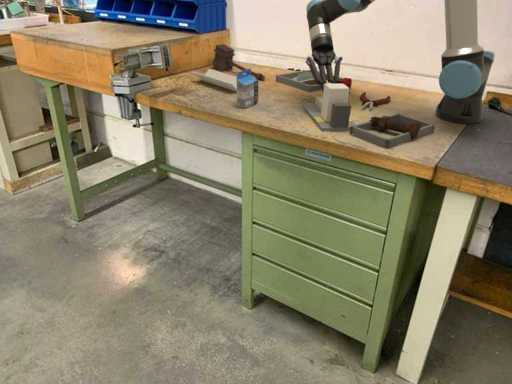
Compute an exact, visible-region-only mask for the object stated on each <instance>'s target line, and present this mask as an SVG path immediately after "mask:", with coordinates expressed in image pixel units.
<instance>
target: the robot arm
mask: <svg viewBox="0 0 512 384" xmlns="http://www.w3.org/2000/svg"><path fill="white" fill-rule="evenodd" d="M374 2H376V0H310V1H309V2H308V4H307V5H306V8H305V9H306V20H307V25H308V32H309V34H308V35H309V40H310V48H311V56H307V57H306V60H305V64H306V65H307V66H308V67H309V70H311V73H312V75H313V78H314V82H315V85H316V84H317V85H321V87H322V90H321V91H322V92H323V91H324V84H337V82H338V80H339V77H340V70H341V62H342V61H343V57H342V56H338V55H337V54H336V52H335V50H334V42H333V35H332V29H331V23H332V22H334V21H336V20H337V19H339V18H340V17H343V16H344V15H348V14H353V13H360V12H362V11H365V10H366V9H367V8H368V7H369V6H370V5H371V4H372V3H374ZM444 17H445V18H444V22H445V23H444V24H445V43H446V44H445V45H446V46H445V50H444V51H443V52H442V54H440V56H441V60H440V61H441V71H440V73H439V77H438V84H439V88H440V90H441V91H442V92H443V94H444V95H443V96H442V98H441V99H440V102H439V103H438V104H437V106H436V108H435V113H434V114H435V116H437V117H438V118H439V119H442V120H445V121H449V122H452V123H458V124H466V125H468V124H470V125H471V124H473V125H474V124H477V123H480V122H481V121H482V120H483V116H484V113H483V112H484V110H483V108H484V107H483V96H484V93H485V90H486V86H487V82H488V80H489V77H490V72H491V69H492V66H493V63H494V62H495V60H494V59H495V52H493V51H490V50H485V49H484V47H482V46H481V45H480V44H479V43H478V42H479V38H478V33H479V31H478V0H444ZM333 61H334V72H333V66H332V64H333V63H332V62H333ZM316 65H317V66H316ZM318 71H319V73H320V75H319V73H318ZM325 73H326V74H327V79H328V80H326V74H325ZM333 76H334V79H333ZM327 82H328V83H327Z"/></svg>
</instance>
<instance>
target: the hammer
mask: <svg viewBox="0 0 512 384" xmlns="http://www.w3.org/2000/svg"><path fill="white" fill-rule="evenodd" d="M213 52H214V54H215V55H214V59H212V63H213V64H212V66H213V67H214V68H215V69H217V70H218V71H219V72H226V71H233V67H234V68H237V69H238V70H240V71H243V70H247V69H248V68H246V67H244V66H241V65H240V64H238V63H235V62H234V61H233V59H234V58H233V57H235V55H236V54H235V53H234V52H235V50H234V49H233V48H232V47H230V46H228V45H226V44H225V43H222V44H216V45H215V48H214V49H213ZM250 75H251V76H252V77H254V78H255V79H257V80H258V81H265V80H266V76H265V75H263V74H262V73H261V72H254V71H252V70H251V72H250Z"/></svg>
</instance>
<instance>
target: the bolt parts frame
mask: <svg viewBox="0 0 512 384" xmlns="http://www.w3.org/2000/svg"><path fill="white" fill-rule="evenodd" d="M388 116H389V118H390V120H394V121H399V122H404V123H410V124H412V122H414V121H419V122H420V130H419V131H418V136H417V137H416V139H419V138H421V137H424V136H427V135H431V134H432V133H433V134H434V131H435V127H436V124H433V123H429V122H428V121H423V120H421V119H417V118H415V117H411V116H409V115H405V114H402V113H399V112H396V113H394V114H390V115H388ZM377 128H378V127H373V126H372V122H371V121H370V120H368V121H364V122H361V123H356V125H353V126H351V127H350V130H349V135H351V134H353V135H352V136H354V135H355V136H354V137H356V136H357V138H359V137H360V138H359V139H361V138H362V139H361V140H364V139H365V140H364V141H366V140H367V141H366V142H369V141H370V142H369V143H371V142H372V144H374V143H375V144H374V145H376V144H377V145H376V146H379V145H380V146H379V147H381V146H382V148H384V147H385V149H386V148H387V149H390V148H393V147H395V146H399V145H400V144H401V145H402V144H404V143H407V142H409V141H413V140H412V139H411V135H410V133H408V132H407V133H400V134H398V135H395V136H392V137H388V138H387V137H384V136H382V135H379V134H376V133H373V132H371V131H369V130H373V129H377ZM366 130H367V131H366ZM392 146H393V147H392Z"/></svg>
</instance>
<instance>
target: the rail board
mask: <svg viewBox="0 0 512 384" xmlns="http://www.w3.org/2000/svg"><path fill="white" fill-rule="evenodd" d="M322 100H323V96H316V97H315V102H313V103H312V102H307V103H302V102H301V108H302V109H303V110H304V111H305V112H306V113H307V115H308V116H309V117H310V118H311V119H312V121H313V122H314V124H315V125H316V126H317V127H318V128H319V130H320V131H321V132H333V131H335V132H336V131H337V132H338V131H339V130H345V131H350V127H351V126H353V125H357V123H355V122H354V121H353V120H352V119H351V118H350V117H351V112H352V111H351V110H352V105H351V104H350V103H349V102H348V103H333V104H332V112H331V120H330V122H326V121H325V120H324V119H323V118H322V117H321V109H322ZM339 132H340V131H339Z"/></svg>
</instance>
